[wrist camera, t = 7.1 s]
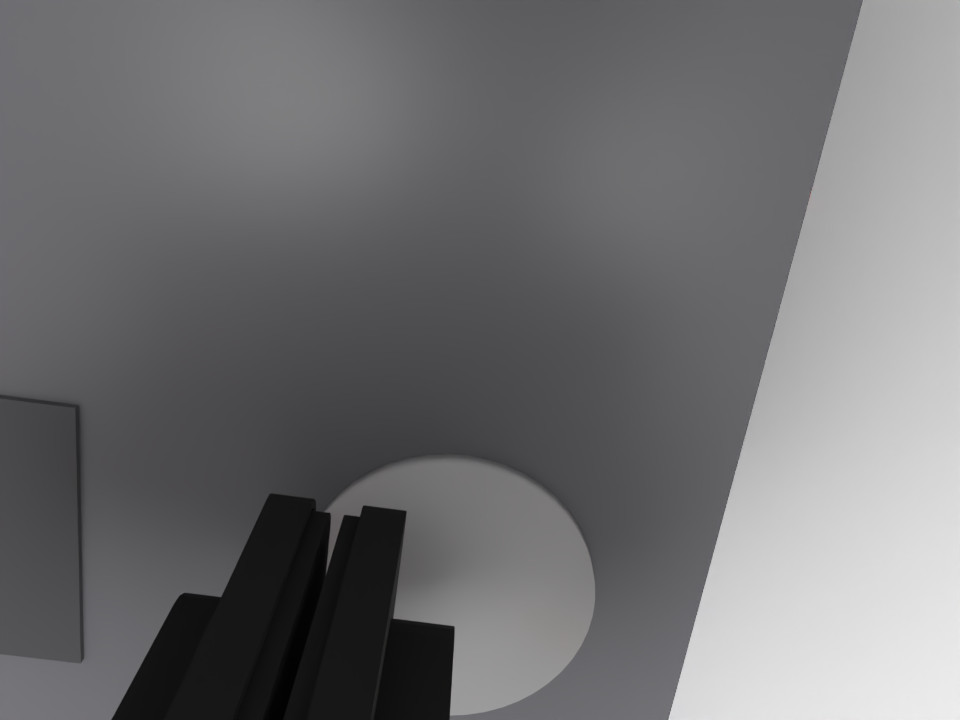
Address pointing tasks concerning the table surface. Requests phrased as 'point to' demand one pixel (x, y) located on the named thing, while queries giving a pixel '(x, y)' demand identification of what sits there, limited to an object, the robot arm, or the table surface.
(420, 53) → the switch panel
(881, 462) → the table surface
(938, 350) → the table surface
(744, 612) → the table surface
